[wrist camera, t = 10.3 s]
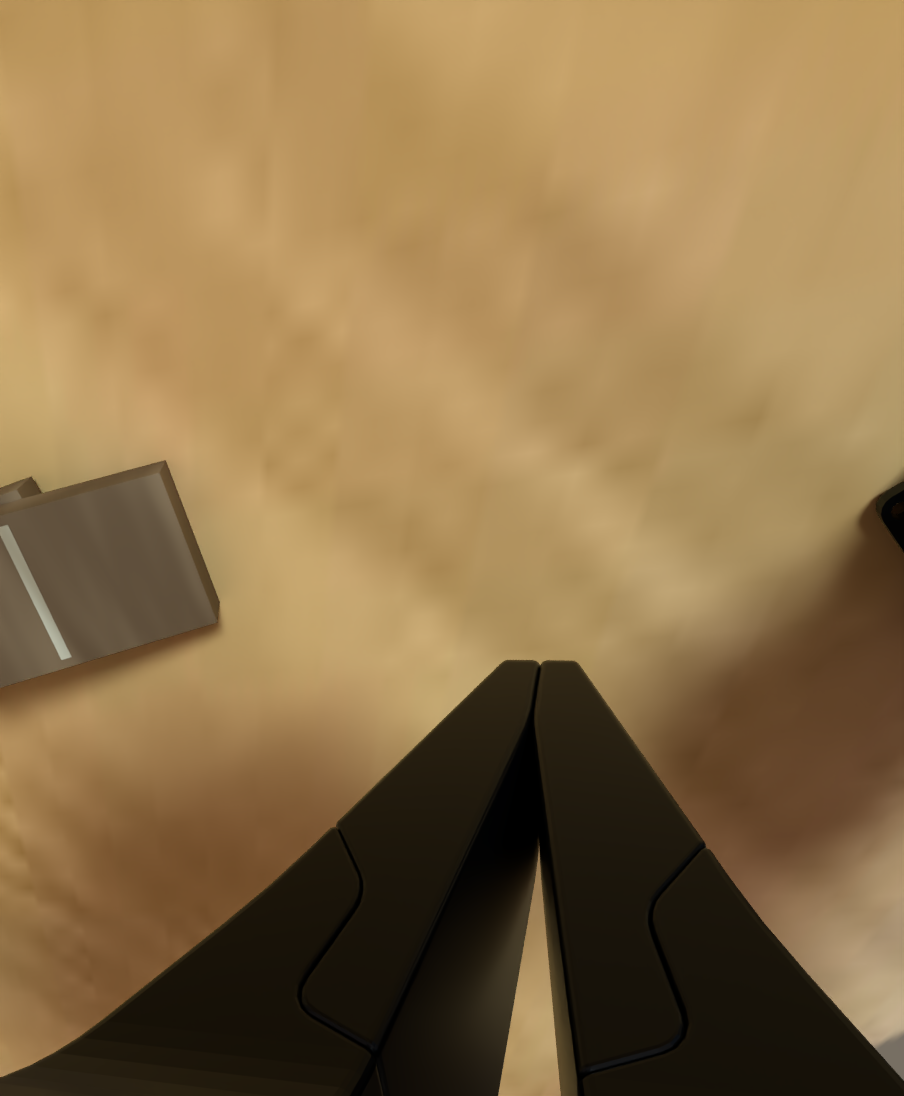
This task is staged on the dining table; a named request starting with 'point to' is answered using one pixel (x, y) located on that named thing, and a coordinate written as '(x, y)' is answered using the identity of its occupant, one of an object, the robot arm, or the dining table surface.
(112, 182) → the dining table surface
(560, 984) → the robot arm
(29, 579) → the domino
